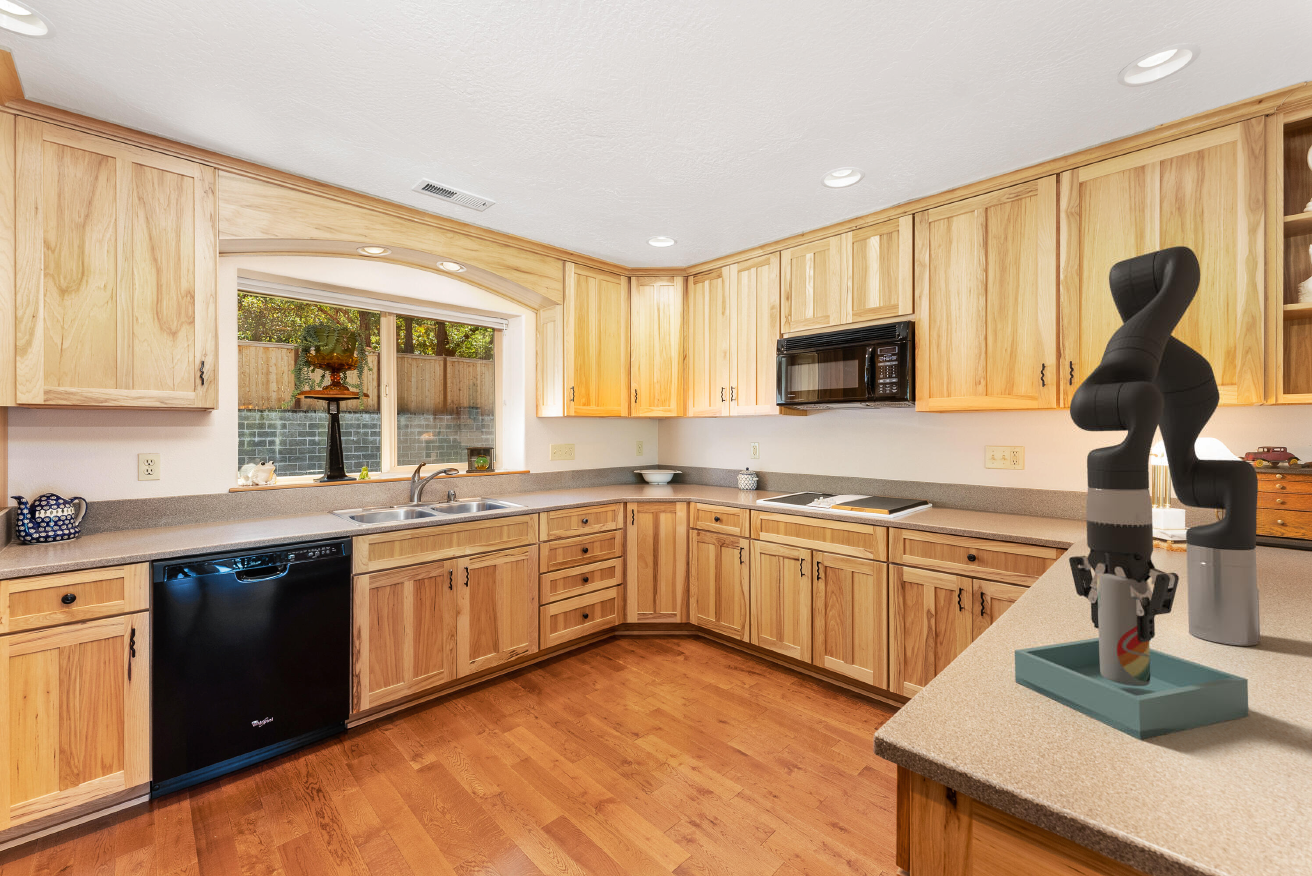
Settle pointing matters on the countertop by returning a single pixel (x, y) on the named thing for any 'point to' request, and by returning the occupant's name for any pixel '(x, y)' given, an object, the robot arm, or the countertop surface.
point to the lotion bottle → (1121, 627)
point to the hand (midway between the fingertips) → (1121, 633)
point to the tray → (1133, 689)
